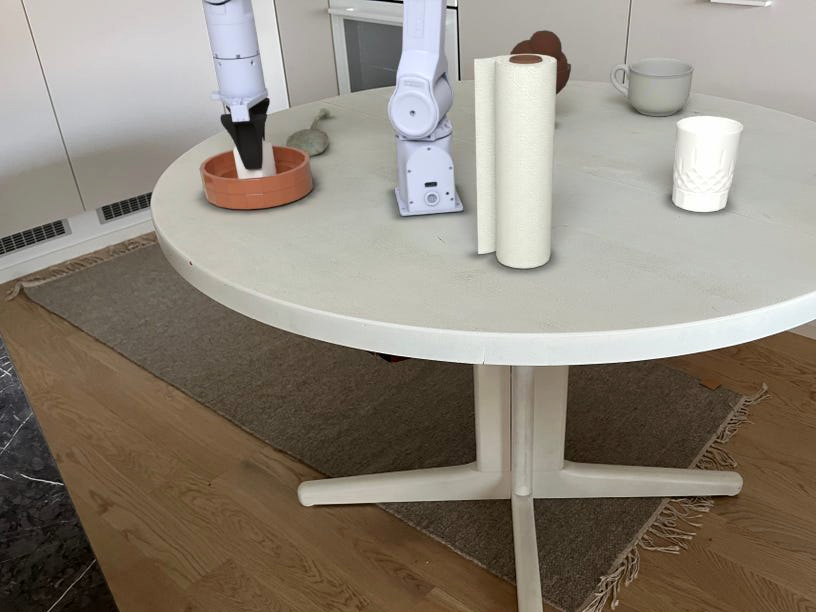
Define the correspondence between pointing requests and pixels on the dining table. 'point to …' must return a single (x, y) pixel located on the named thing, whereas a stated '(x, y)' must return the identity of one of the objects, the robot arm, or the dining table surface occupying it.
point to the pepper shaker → (267, 164)
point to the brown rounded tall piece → (547, 53)
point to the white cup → (705, 162)
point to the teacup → (656, 84)
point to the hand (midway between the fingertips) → (255, 161)
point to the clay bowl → (257, 180)
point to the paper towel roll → (515, 156)
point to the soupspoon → (310, 137)
